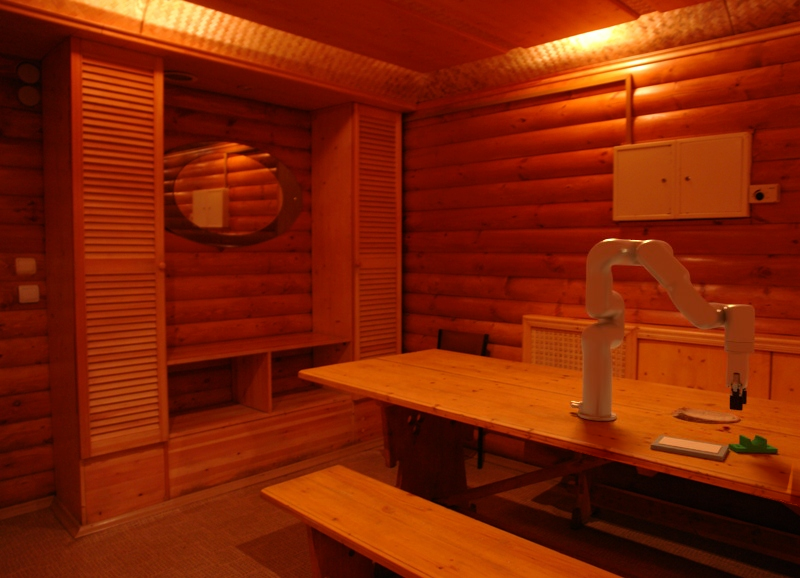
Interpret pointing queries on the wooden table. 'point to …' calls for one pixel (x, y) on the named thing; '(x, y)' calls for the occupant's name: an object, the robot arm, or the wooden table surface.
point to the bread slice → (704, 416)
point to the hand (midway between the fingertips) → (738, 406)
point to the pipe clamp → (753, 445)
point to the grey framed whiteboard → (690, 447)
